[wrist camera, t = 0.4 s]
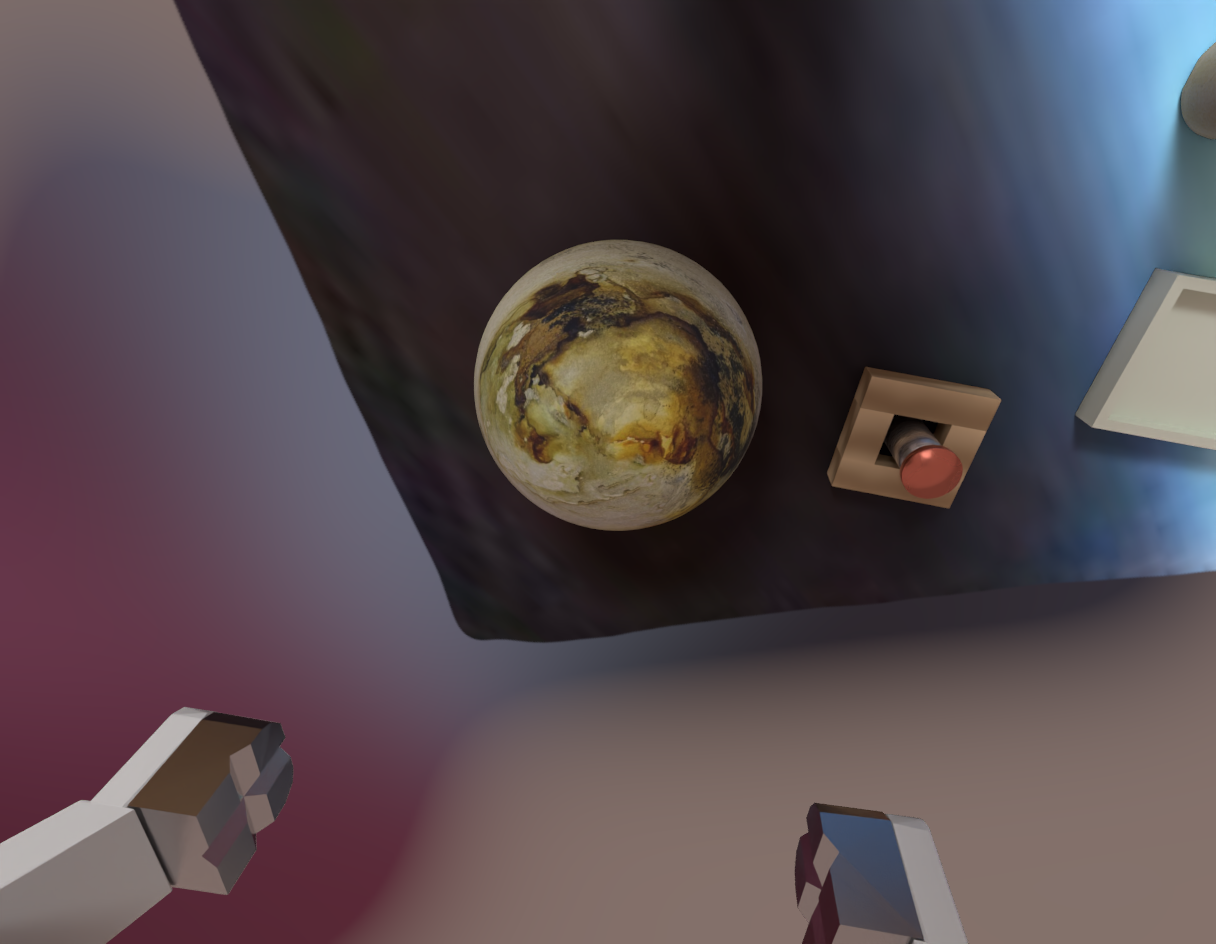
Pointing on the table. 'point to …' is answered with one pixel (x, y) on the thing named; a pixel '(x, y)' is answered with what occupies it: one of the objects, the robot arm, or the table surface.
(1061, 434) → the table surface
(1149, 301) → the tray
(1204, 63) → the flower pot
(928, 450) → the pin
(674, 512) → the decorative sphere
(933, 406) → the block
